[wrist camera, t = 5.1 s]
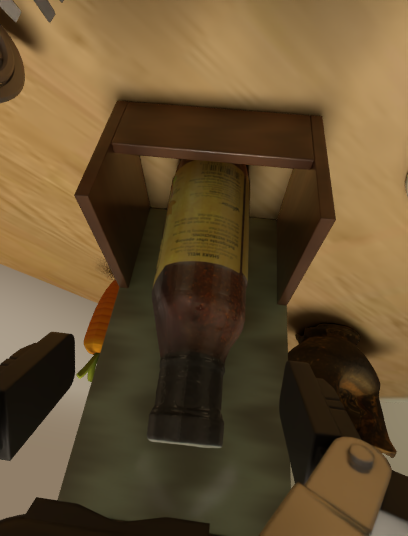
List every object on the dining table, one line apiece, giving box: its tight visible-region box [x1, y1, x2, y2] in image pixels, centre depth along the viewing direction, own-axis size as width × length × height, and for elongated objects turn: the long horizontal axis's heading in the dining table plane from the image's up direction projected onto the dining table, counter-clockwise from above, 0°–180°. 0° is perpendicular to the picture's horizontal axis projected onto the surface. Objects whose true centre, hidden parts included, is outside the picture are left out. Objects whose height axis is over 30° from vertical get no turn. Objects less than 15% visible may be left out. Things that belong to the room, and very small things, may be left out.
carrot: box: [77, 279, 119, 382], centre depth 39 cm, size 5×5×15 cm
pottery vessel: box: [288, 323, 396, 458], centre depth 49 cm, size 25×11×20 cm, turn 47°
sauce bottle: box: [147, 159, 250, 448], centre depth 21 cm, size 6×6×20 cm
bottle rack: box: [57, 101, 336, 536], centre depth 20 cm, size 14×12×25 cm
